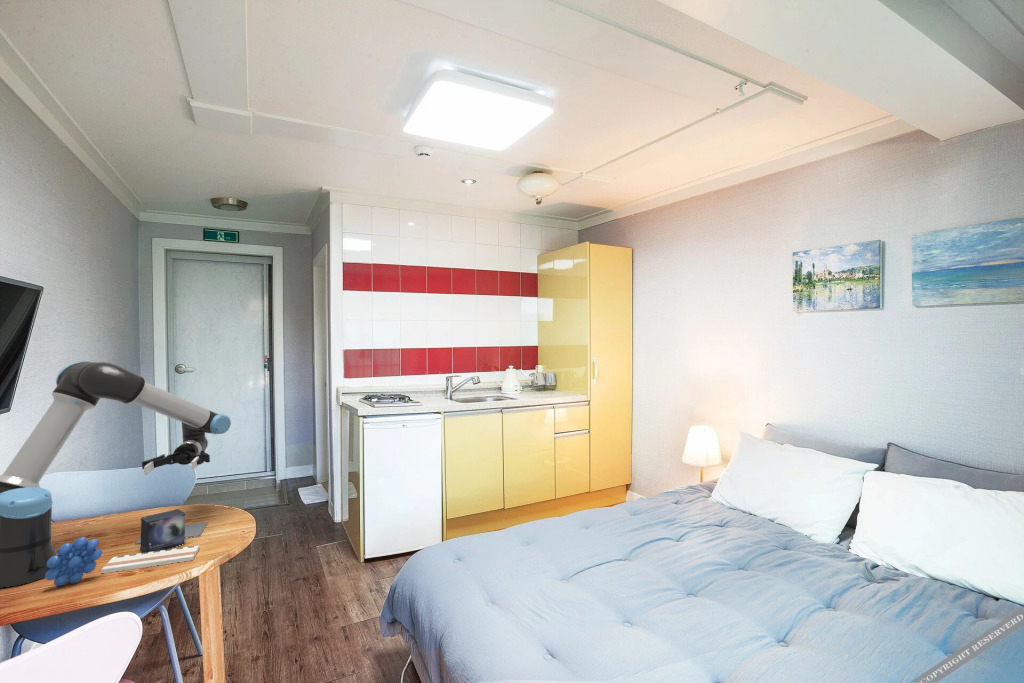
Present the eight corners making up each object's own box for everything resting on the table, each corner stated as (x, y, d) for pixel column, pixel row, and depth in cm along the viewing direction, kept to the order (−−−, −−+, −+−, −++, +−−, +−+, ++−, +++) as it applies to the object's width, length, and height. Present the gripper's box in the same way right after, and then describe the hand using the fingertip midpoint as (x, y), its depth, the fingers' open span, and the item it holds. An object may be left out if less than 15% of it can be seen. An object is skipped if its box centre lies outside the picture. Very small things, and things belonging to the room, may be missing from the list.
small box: (146, 556, 149) (146, 521, 149) (139, 550, 153) (139, 517, 153) (185, 544, 157) (186, 512, 157) (178, 540, 161) (178, 508, 161)
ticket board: (101, 573, 137) (101, 568, 137) (113, 560, 145) (113, 556, 145) (192, 560, 145) (192, 555, 145) (199, 549, 154) (199, 544, 154)
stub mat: (134, 544, 157) (134, 543, 157) (148, 529, 170) (148, 528, 170) (199, 536, 164) (199, 535, 164) (207, 522, 177) (208, 521, 177)
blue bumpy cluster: (99, 570, 139) (100, 528, 139) (103, 578, 134) (104, 534, 134) (43, 585, 130) (44, 540, 130) (45, 594, 126) (45, 547, 126)
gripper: (225, 458, 188) (212, 474, 168) (148, 466, 179) (125, 484, 159) (224, 439, 187) (211, 452, 167) (147, 446, 179) (123, 461, 159)
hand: (169, 468), depth 163 cm, fingers open, 13 cm apart
